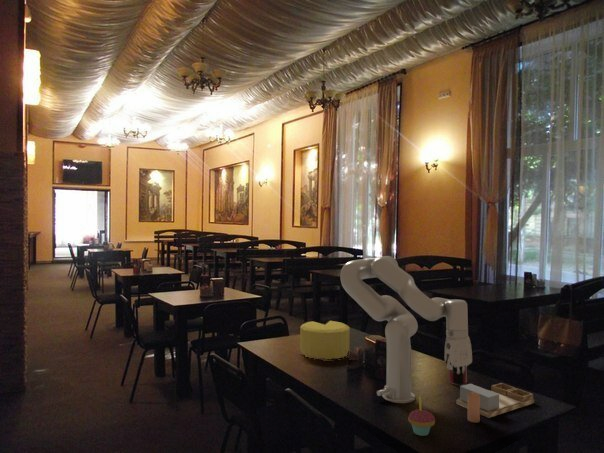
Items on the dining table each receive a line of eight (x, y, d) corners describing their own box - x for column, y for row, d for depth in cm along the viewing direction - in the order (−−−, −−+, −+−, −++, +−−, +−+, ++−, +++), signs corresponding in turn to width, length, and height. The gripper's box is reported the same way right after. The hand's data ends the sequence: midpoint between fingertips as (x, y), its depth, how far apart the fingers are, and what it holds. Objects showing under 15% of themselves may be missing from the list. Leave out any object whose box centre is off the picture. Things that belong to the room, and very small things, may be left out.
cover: (488, 411, 157) (488, 397, 157) (459, 399, 167) (460, 386, 167) (499, 408, 160) (499, 394, 160) (470, 396, 170) (470, 383, 170)
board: (488, 417, 156) (488, 408, 156) (456, 403, 168) (456, 394, 168) (534, 403, 169) (534, 394, 169) (501, 391, 181) (501, 382, 181)
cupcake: (404, 427, 148) (405, 391, 148) (429, 426, 149) (429, 390, 149) (413, 439, 139) (413, 401, 139) (439, 438, 140) (439, 400, 140)
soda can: (467, 386, 186) (468, 358, 186) (449, 385, 188) (450, 356, 188) (465, 380, 193) (465, 353, 193) (447, 379, 195) (448, 352, 195)
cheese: (317, 343, 252) (318, 317, 252) (358, 351, 237) (358, 323, 237) (290, 354, 231) (290, 325, 231) (332, 363, 215) (333, 333, 215)
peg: (474, 423, 151) (474, 397, 151) (464, 419, 155) (465, 393, 155) (482, 421, 153) (482, 395, 153) (472, 416, 157) (472, 391, 157)
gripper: (451, 338, 155) (452, 390, 155) (479, 332, 163) (480, 382, 162) (434, 334, 162) (436, 384, 161) (462, 329, 169) (463, 377, 169)
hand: (458, 383), depth 162 cm, fingers closed
